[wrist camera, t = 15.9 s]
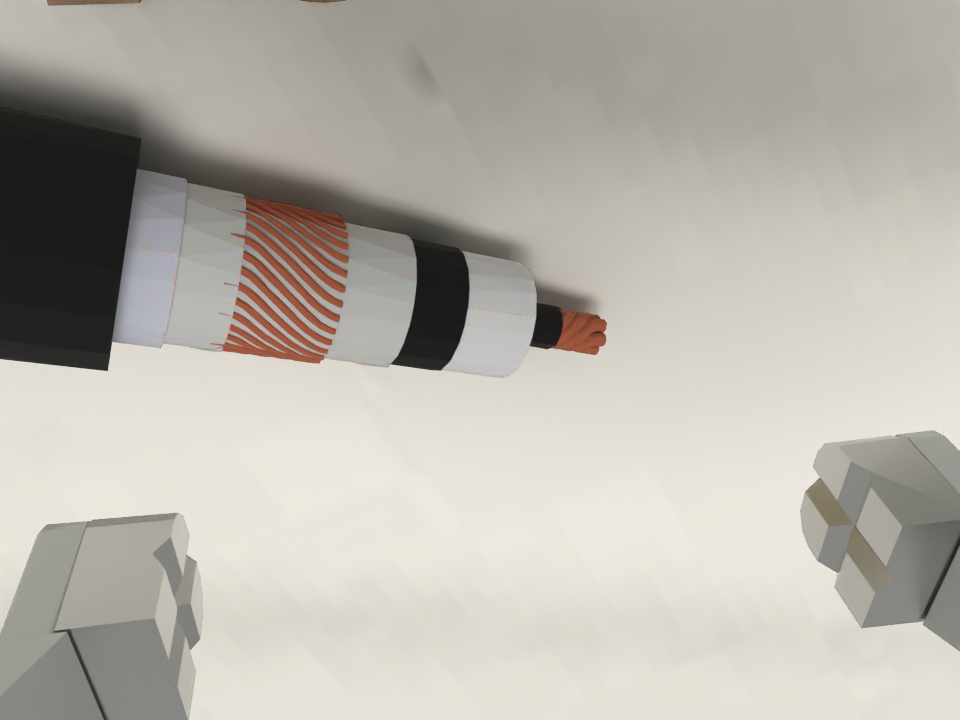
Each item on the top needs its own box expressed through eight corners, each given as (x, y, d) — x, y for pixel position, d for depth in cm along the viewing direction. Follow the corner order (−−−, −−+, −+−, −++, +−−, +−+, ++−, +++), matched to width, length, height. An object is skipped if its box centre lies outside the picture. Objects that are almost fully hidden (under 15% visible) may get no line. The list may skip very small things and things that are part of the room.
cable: (542, 302, 52) (561, 455, 47) (-109, 184, 38) (-172, 382, 33) (633, 205, 44) (668, 377, 39) (-148, 13, 30) (-237, 241, 26)
